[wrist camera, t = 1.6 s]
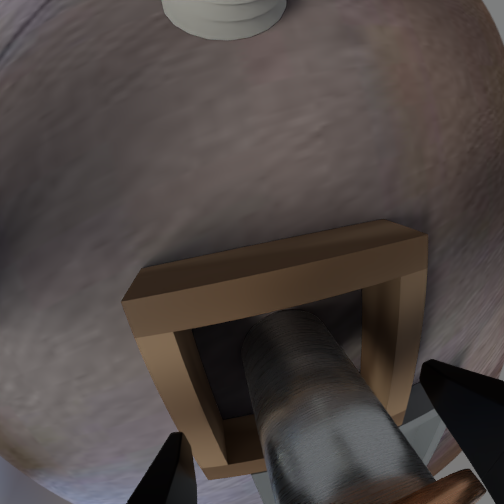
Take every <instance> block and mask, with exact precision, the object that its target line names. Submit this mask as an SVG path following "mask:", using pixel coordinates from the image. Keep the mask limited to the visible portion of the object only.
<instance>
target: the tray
mask: <svg viewBox="0 0 504 504" xmlns="http://www.w3.org/2000/svg"><path fill="white" fill-rule="evenodd" d="M398 427H399V429H400V430H401V432H402V433H403V434H404V436H405V437H406V439H407V440H408V441H409V443H410V444H411V446H412V447H413V449H414V450H415V451H416V453H417V454H418V456H419V457H420V459H421V460H422V461H423V463H424V464H425V466H427V464H428V462H429V461H430V459H431V457H432V455H433V453H434V451H435V449H436V447H437V445H438V443H439V441H440V439H441V437H442V435H443V433H444V430H445V428H446V425H445V424H444V422H443V421H442V419H441V418H440V417H439V415H438V414H437V412H436V411H435V409H434V407H433V405H432V403H431V402H430V400H429V398H428V396H427V394H426V392H425V391H424V389H423V387H422V385H421V383H418V384H416V385H413V386H412V387H411V392H410V396H409V400H408V404H407V408H406V412H405V415H404V419H403V423H402V425H400V426H398ZM251 475H252V478H253V480H254V482H255V485H256V487H257V489H258V492H259V494H260V496H261V499H262V501H263V503H264V504H275V500H274V496H273V492H272V488H271V484H270V480H269V476H268V472H267V471H262V472H257V473H252V474H251Z"/></svg>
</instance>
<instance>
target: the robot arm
mask: <svg viewBox="0 0 504 504" xmlns="http://www.w3.org/2000/svg"><path fill="white" fill-rule="evenodd" d="M419 379H420V383H421V385H422V387H423V389H424V391H425V392H426V394H427V396H428V398H429V400H430V402H431V403H432V405H433V407H434V409H435V411H436V412H437V414H438V415H439V417H440V418H441V419H442V421H443V422H444V424H445V425H446V427H447V428H448V430H449V431H450V432H451V434H452V435H453V437H454V438H455V440H456V441H457V443H458V444H459V446H460V447H461V449H462V450H463V452H464V453H465V455H466V456H467V458H468V459H469V461H470V463H471V464H472V466H473V467H474V469H475V471H476V472H477V474H478V475H479V477H480V478H481V480H482V482H483V483H484V485H485V487H486V488H487V490H488V492H489V493H490V495H491V497H492V498H493V500H494V502H495V504H504V381H502V380H499V379H496V378H492V377H489V376H485V375H482V374H479V373H475V372H472V371H469V370H466V369H462V368H459V367H456V366H453V365H450V364H447V363H444V362H440V361H437V360H434V359H430V360H428V361H426V362H424V363H423V364H422V368H421V373H420V378H419ZM126 504H197V484H196V477H195V470H194V463H193V455H192V449H191V445H190V443H189V441H188V440H187V438H186V436H185V434H184V433H183V432H173V433H171V434H170V435H169V437H168V439H167V440H166V442H165V443H164V445H163V447H162V448H161V450H160V451H159V453H158V455H157V456H156V458H155V459H154V461H153V462H152V464H151V466H150V467H149V469H148V470H147V472H146V473H145V475H144V477H143V478H142V480H141V481H140V483H139V484H138V486H137V488H136V489H135V491H134V492H133V494H132V495H131V497H130V498H129V500H128V501H127V503H126Z"/></svg>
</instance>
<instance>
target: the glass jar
mask: <svg viewBox="0 0 504 504" xmlns="http://www.w3.org/2000/svg"><path fill="white" fill-rule="evenodd" d="M241 355H242V361H243V366H244V371H245V375H246V380H247V385H248V389H249V394H250V399H251V403H252V408H253V412H254V417H255V421H256V425H257V430H258V434H259V438H260V443H261V447H262V451H263V455H264V460H265V464H266V468H267V472H268V476H269V480H270V484H271V488H272V492H273V496H274V500H275V504H475V503H476V502H477V501H479V499H480V498H481V497H482V496H483V495H484V494H485V493H486V489H485V488H484V486H483V485H482V484H481V482H480V481H479V480H478V479H477V477H476V476H475V475H474V474H473V473H472V471H471V470H470V469H463V470H460V471H458V472H455V473H452V474H450V475H448V476H446V477H444V478H441V479H439V480H437V481H436V480H435V479H434V477H433V476H432V474H431V473H430V472H429V470H428V469H427V467H426V466H425V464H424V463H423V461H422V460H421V459H420V457H419V456H418V454H417V453H416V451H415V450H414V449H413V447H412V446H411V444H410V443H409V441H408V440H407V439H406V437H405V436H404V434H403V433H402V432H401V430H400V429H399V427H398V426H397V425H396V423H395V422H394V420H393V419H392V417H391V416H390V415H389V413H388V412H387V410H386V409H385V408H384V406H383V405H382V404H381V402H380V401H379V399H378V398H377V397H376V395H375V394H374V392H373V391H372V390H371V388H370V387H369V385H368V384H367V383H366V381H365V380H364V379H363V377H362V376H361V374H360V373H359V372H358V370H357V369H356V368H355V366H354V365H353V363H352V362H351V361H350V359H349V358H348V357H347V355H346V354H345V352H344V351H343V350H342V348H341V347H340V346H339V344H338V343H337V342H336V340H335V339H334V337H333V336H332V335H331V333H330V332H329V331H328V329H327V328H326V327H325V325H324V324H323V323H322V321H321V320H320V319H319V318H318V317H316V316H315V315H313V314H311V313H309V312H306V311H301V310H285V311H280V312H277V313H274V314H271V315H269V316H267V317H265V318H263V319H262V320H261V321H259V322H258V323H257V324H256V325H254V326H253V328H252V329H251V330H250V331H249V332H248V334H247V335H246V337H245V339H244V342H243V345H242V353H241Z"/></svg>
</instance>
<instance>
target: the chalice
mask: <svg viewBox="0 0 504 504" xmlns="http://www.w3.org/2000/svg"><path fill="white" fill-rule="evenodd" d="M161 1H162V5H163V9H164V13H165V14H166V15H167V17H168V18H169V19H170V20H171V22H172V23H173V24H174V25H175V26H177V27H179V28H180V29H182V30H184V31H185V32H187V33H188V34H191V35H195V36H199V37H202V38H205V39H212V40H229V41H230V40H236V39H242V38H248V37H252V36H254V35H256V34H259V33H261V32H263V31H266V30H268V29H269V28H270V27H271V26H273V25H274V24H275V23H276V22H277V21H278V20H280V18H281V16H282V14H283V12H284V10H285V8H286V0H161Z"/></svg>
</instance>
